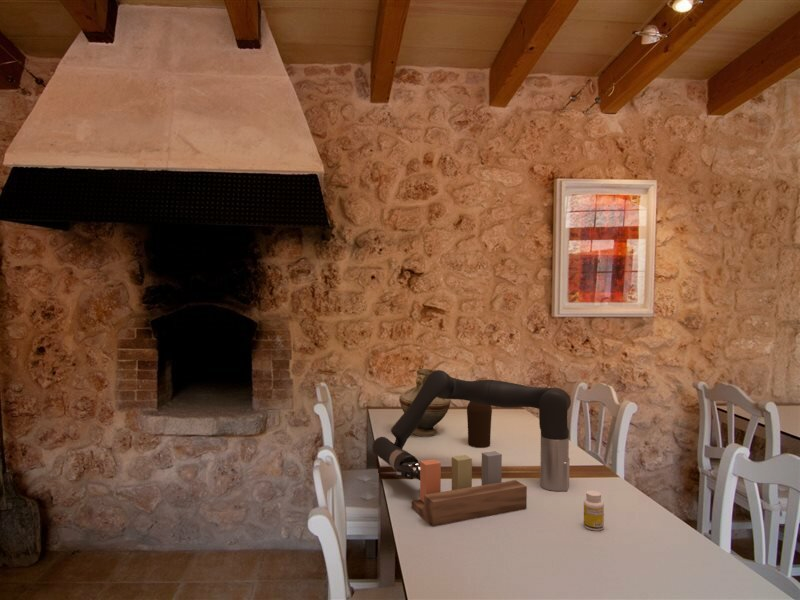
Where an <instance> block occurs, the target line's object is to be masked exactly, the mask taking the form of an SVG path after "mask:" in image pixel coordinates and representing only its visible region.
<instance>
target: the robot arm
mask: <svg viewBox="0 0 800 600" xmlns="http://www.w3.org/2000/svg"><path fill="white" fill-rule="evenodd" d="M433 371H434V372H432V373H431V374H430V375H429V376H428V378H427V379H426V381H425V383H424V384H423V386H422V388H421V389H420V391H419V393H418V394H417V396H416V397H415V399H414V400H413V402H412V403H411V405H410V406H409V408H408V409H407V410H406V411H405V413H404V412H403V414H402V415H400V417H399V418H398V420H397V421H396V422H395V424H393V426H392V427H391V429H390V432H391V434H392V435H393V437H394V438H395V440H394V442H392V441H391V440H390V439H389V438H387V437H386V436H379V437H377V438H375V439H374V441H373V442H372V447H371V449H372V452H373V453H374V455H376V456H377V457H379V458H380V459H381V460H382V461H384V462H385V463H387V464H388V465H389V466H390V467H391V468H392V469H393V470H394V471H395V472H396V478H401V479H402V478H403V479H407V480H418V481H420V461H419V460H418V459H417V457H416V456H414V455H413V454H411V453H410V452H408V451H407V450H405V449H403V448H404V447H405V444H406V442H407V441H408V439H409V438H410V437H411V435H413V432H414V431H415V429H416V428H417V427H418V425H419V423H420V422H421V420H422V417H423V415H424V413H425V411H426V409H427V408H428V406H429V405H430V403H431V402H432V401H433V400H434V399H435V398H436V397H438V398H441V399H450V400H462V401H468V402H470V401H471V402H475V403H480V404H485V405H490V406H491V407H496V408H504V409H505V408H509V409H511V408H533V409H538V410H539V411H538V415H539V416H538V417H539V419H538V420H539V423H538V425H539V430H540V464H539V466H540V472H539V473H540V478H539V479H540V480H539V481H540V484H539V485H540V487H541V488H543V489H545V490H548V491H551V492H552V491H553V492H561V491H563V492H568V489H569V487H570V457H569V454H570V453H569V450H570V447H569V446H570V445H569V444H570V441H569V439H570V433H569V432H570V431H569V430H570V429H569V427H568V410H569V409H570V407H571V404H572V399H571V396H570V395H569V393H567V391H565V390H564V389H562V388H558V387H541V386H539V387H538V386H528V385H525V384H520V383H514V382H509V381H508V382H507V381H502V380H497V379H477V380H463V379H459V378H455V377H452V376H450V375H449V373H447V372H446V371H444V370H442V369H441V370H440V369H437V370H433Z"/></svg>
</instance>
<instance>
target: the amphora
mask: <svg viewBox="0 0 800 600" xmlns="http://www.w3.org/2000/svg"><path fill="white" fill-rule="evenodd" d="M434 371H435V370H433V369H430V368H422V369H421V368H420V369H418V370H417V371H416V378H415V385H416V386H413V387H410V388H409V389H406V390H404V391H403V392H402V393H401V394H400V396H399V397H398V398H399V404H400V408H401V410H402V412H403V414H404V413H405V411H406V410H407V409H408V408H409V406H410V405H411V403H412V402H413V400H414V399H415V397H416V396H417V394H418V393H419V391H420V389H421V388H422V386H423V384H424V383H425V381H426V379H427V378H428V376H429V375H430V374H431V373H432V372H434ZM450 405H451V399H441V398H438V397H436V398H435V399H434V400H433V401H432V402H431V403H430V405H429V406H428V408H427V409H426V411H425V413H424V415H423V417H422V420H421V422H420V423H419V425H418V427H417V428H416V429H415V431H414V432H413V433H412V435H414V434H415V435H414V436H417V435H418V437H423V436H428V437H434V436H436V434H437V430H436V428H435V426H436V425H438V423H440V422H441V421H442V420H443V419H444V418H445V416H446V415H447V413H448V411H449V408H450ZM433 435H434V436H433Z"/></svg>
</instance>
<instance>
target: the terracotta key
mask: <svg viewBox="0 0 800 600" xmlns="http://www.w3.org/2000/svg"><path fill="white" fill-rule="evenodd" d="M419 463H420V480H419V487H420V488H419V489H420V490H419V494H420V495H419V499H420V500H421V501H422V502H424V495H426V494H432V493H438V492H442V491H441V487H442V486H441V483H442V482H441V477H442V475H441V473H442V472H441V470H442V469H441V467H442V466H441V465H442V463H441V462H440V461H438V460H437V459H427V460H420V461H419Z"/></svg>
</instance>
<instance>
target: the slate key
mask: <svg viewBox="0 0 800 600" xmlns="http://www.w3.org/2000/svg"><path fill="white" fill-rule="evenodd" d="M502 455H503V454H501V453H499V452H498V451H496V450H494V451H485V452H481V485H488V484H494V483H500V482H503V481H502V480H503V479H502V476H503V474H502V473H503V472H502V470H503V467H502V463H503V462H502V458H503V457H502Z"/></svg>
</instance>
